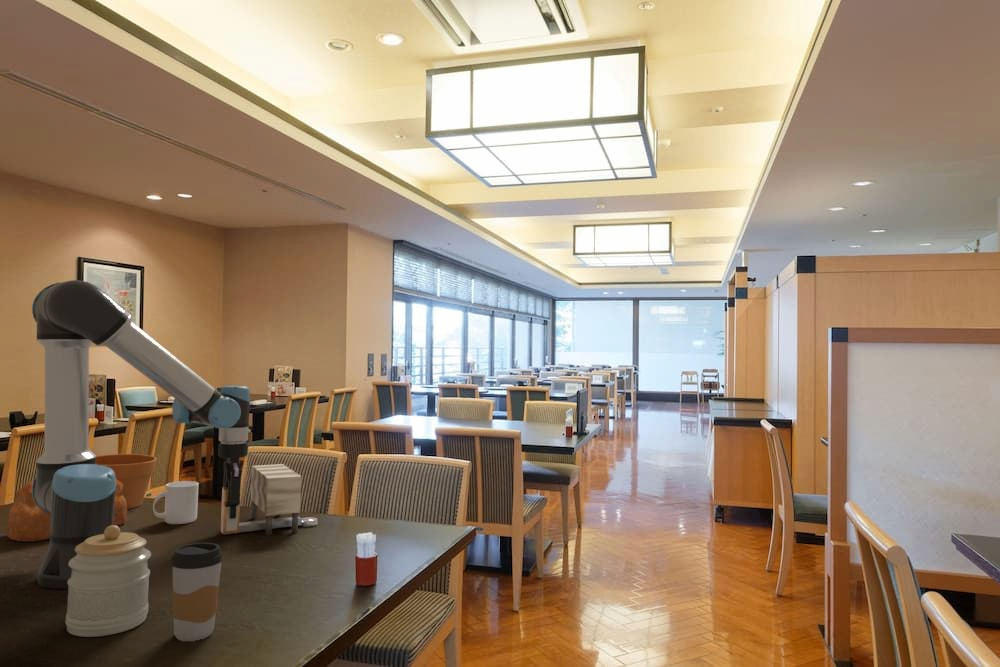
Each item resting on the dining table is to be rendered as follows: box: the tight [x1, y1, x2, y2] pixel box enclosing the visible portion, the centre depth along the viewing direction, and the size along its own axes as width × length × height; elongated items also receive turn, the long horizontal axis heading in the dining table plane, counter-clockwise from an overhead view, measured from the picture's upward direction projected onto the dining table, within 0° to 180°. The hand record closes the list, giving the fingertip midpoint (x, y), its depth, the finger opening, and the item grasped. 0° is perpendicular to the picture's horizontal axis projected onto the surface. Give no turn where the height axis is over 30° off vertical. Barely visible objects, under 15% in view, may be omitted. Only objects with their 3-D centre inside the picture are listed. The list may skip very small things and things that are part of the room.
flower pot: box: [96, 453, 157, 510], centre depth 207 cm, size 21×21×15 cm
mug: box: [152, 480, 199, 525], centre depth 190 cm, size 9×12×11 cm
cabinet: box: [250, 463, 302, 537], centre depth 190 cm, size 22×9×16 cm, turn 31°
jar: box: [65, 525, 152, 638], centre depth 120 cm, size 13×13×18 cm
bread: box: [6, 477, 128, 543], centre depth 179 cm, size 14×26×16 cm, turn 145°
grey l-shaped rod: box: [220, 486, 302, 535], centre depth 184 cm, size 4×21×12 cm, turn 121°
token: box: [299, 516, 318, 528], centre depth 191 cm, size 5×5×2 cm
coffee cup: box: [170, 542, 224, 642], centre depth 116 cm, size 8×8×15 cm
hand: (230, 527), depth 180 cm, fingers closed on grey l-shaped rod, 4 cm apart
